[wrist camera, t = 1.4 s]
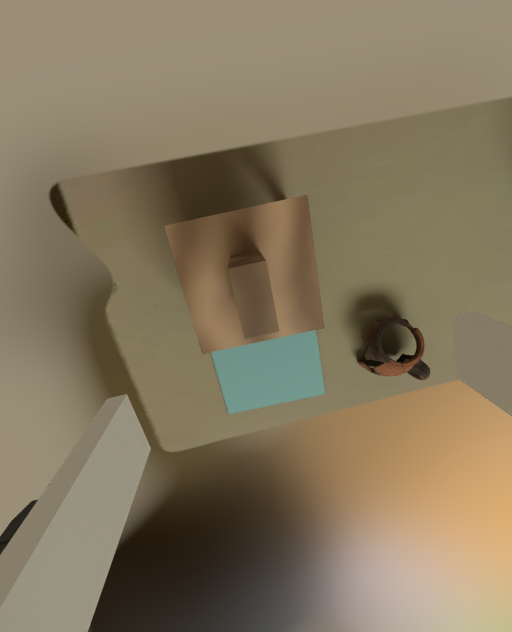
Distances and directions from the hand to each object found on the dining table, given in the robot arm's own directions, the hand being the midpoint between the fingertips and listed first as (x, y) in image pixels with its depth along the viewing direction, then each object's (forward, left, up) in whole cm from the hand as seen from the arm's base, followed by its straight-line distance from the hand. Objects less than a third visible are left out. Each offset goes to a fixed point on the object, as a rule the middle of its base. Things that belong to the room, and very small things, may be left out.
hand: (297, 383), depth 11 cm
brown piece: (+1, 0, -32) cm, 32 cm away
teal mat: (+1, +16, -32) cm, 36 cm away
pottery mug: (-18, +18, -32) cm, 41 cm away
